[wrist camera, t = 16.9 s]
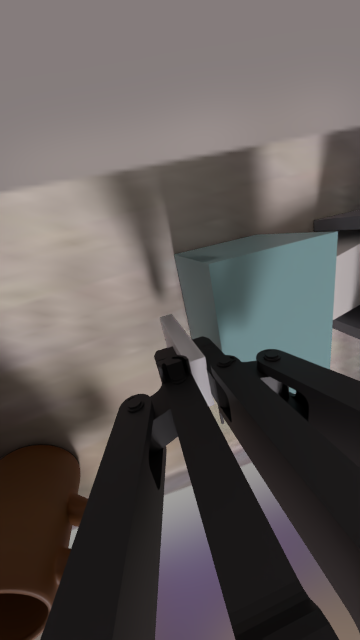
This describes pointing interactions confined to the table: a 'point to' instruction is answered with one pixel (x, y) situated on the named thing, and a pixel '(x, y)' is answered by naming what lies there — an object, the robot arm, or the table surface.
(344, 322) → the charcoal cap
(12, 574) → the mug
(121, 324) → the table surface
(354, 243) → the slat
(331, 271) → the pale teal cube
